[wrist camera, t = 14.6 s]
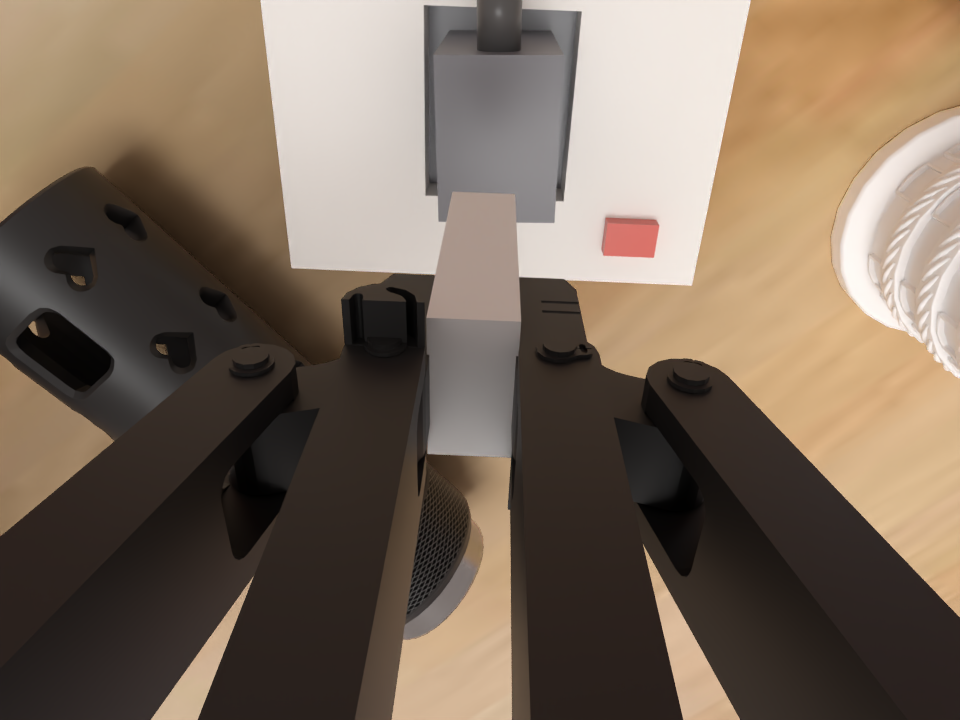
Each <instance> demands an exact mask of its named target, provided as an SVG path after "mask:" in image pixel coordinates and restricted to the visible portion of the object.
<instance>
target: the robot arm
mask: <svg viewBox="0 0 960 720" xmlns="http://www.w3.org/2000/svg"><path fill="white" fill-rule="evenodd" d="M341 303H342V316H343V328H344V341H345V345H344V348H343V350H342V353H341V355H340V358H339V359H336V360H334V361H331V362H327V363H322V364H317V365H310V366H303V367H296V364H295V358H294V355H293V354H292V353H291V352H290V351H288V350H287V349H286V348H282V347H279V346H276V345H270V344H261V343H254V344H252V345H250V344H246V345H241V346H239V347H237V348H233V349H230V350H227V351H225V352H223V353H222V354H220V355H218V356H217V357H215V358H214V359H213V360H211V361H210V362H209V363H208V364H207V365H205V366H204V367H203V368H202V369H201V370H199V371H198V372H197V373H196V374H195V375H193V376H192V377H191V378H190V379H189V380H187V381H186V382H185V383H184V384H183V385H181V386H180V387H179V388H178V389H177V390H175V391H174V392H173V393H172V394H171V395H169V396H168V397H167V398H166V399H165V400H163V401H162V402H161V403H160V404H159V405H157V406H156V407H155V408H154V409H153V410H151V411H150V412H149V413H148V414H147V415H145V416H144V417H143V418H142V419H141V420H139V421H138V422H137V423H136V424H135V425H134V426H132V427H131V428H130V429H129V430H128V431H126V432H125V433H124V434H123V435H122V436H120V437H119V438H118V439H117V440H116V441H114V442H113V443H112V444H111V445H110V446H108V447H107V448H106V449H105V450H104V451H102V452H101V453H100V454H99V455H98V456H96V457H95V458H94V459H93V460H92V461H90V462H89V463H88V464H87V465H86V466H84V467H83V468H82V469H81V470H80V471H78V472H77V473H76V474H75V475H74V476H72V477H71V478H70V479H69V480H68V481H66V482H65V483H64V484H63V485H62V486H60V487H59V488H58V489H57V490H56V491H54V492H53V493H52V494H51V495H50V496H48V497H47V498H46V499H45V500H44V501H42V502H41V503H40V504H39V505H38V506H36V507H35V508H34V509H33V510H32V511H31V512H29V513H28V514H27V515H26V516H25V517H23V518H22V519H21V520H20V521H19V522H17V523H16V524H15V525H14V526H13V527H11V528H10V529H9V530H8V531H7V532H5V533H4V534H3V535H2V536H1V537H0V720H151V718H152V717H153V716H154V714H155V713H156V711H157V710H158V709H159V707H160V706H161V704H162V703H163V702H164V700H165V699H166V697H167V696H168V695H169V693H170V692H171V690H172V689H173V688H174V686H175V685H176V683H177V682H178V681H179V679H180V678H181V676H182V675H183V674H184V672H185V671H186V669H187V668H188V667H189V665H190V664H191V662H192V661H193V660H194V658H195V657H196V656H197V654H198V653H199V651H200V650H201V649H202V647H203V646H204V644H205V643H206V642H207V640H208V639H209V637H210V636H211V635H212V633H213V632H214V630H215V629H216V628H217V626H218V625H219V623H220V622H221V621H222V619H223V618H224V616H225V615H226V614H227V612H228V611H229V609H230V608H231V607H232V605H233V604H234V602H235V601H236V600H237V598H238V597H239V595H240V594H241V593H242V591H243V590H244V588H245V587H246V586H247V584H248V583H249V581H250V580H251V579H252V577H253V576H254V578H253V580H252V583H251V585H250V588H249V590H248V593H247V595H246V598H245V601H244V603H243V606H242V608H241V611H240V613H239V616H238V618H237V621H236V624H235V626H234V629H233V631H232V634H231V636H230V639H229V641H228V644H227V647H226V649H225V652H224V654H223V657H222V659H221V662H220V664H219V667H218V670H217V672H216V675H215V677H214V680H213V682H212V685H211V687H210V690H209V692H208V695H207V698H206V700H205V703H204V705H203V708H202V710H201V713H200V715H199V718H198V720H391V719H392V712H393V705H394V698H395V691H396V684H397V677H398V670H399V662H400V655H401V648H402V641H403V634H404V627H405V620H406V613H407V606H408V599H409V592H410V585H411V578H412V571H413V564H414V557H415V550H416V542H417V535H418V528H419V521H420V514H421V507H422V500H423V493H424V486H425V479H426V447H427V441H428V454H438V455H461V456H485V457H508V458H511V470H510V484H509V499H508V509H509V510H510V524H511V641H512V720H683V717H682V713H681V709H680V704H679V700H678V695H677V691H676V687H675V682H674V678H673V674H672V669H671V665H670V661H669V656H668V652H667V647H666V643H665V639H664V634H663V630H662V626H661V621H660V617H659V613H658V608H657V604H656V600H655V595H654V591H653V586H652V582H651V578H650V573H649V569H648V565H647V560H646V556H645V552H644V547H643V545H644V546H645V548H646V550H647V552H648V554H649V556H650V557H651V559H652V561H653V563H654V565H655V566H656V568H657V570H658V572H659V574H660V575H661V577H662V579H663V581H664V583H665V584H666V586H667V588H668V590H669V592H670V593H671V595H672V597H673V599H674V601H675V602H676V604H677V606H678V608H679V610H680V612H681V613H682V615H683V617H684V619H685V621H686V622H687V624H688V626H689V628H690V630H691V631H692V633H693V635H694V637H695V639H696V640H697V642H698V644H699V646H700V648H701V649H702V651H703V653H704V655H705V657H706V658H707V660H708V662H709V664H710V666H711V668H712V669H713V671H714V673H715V675H716V677H717V678H718V680H719V682H720V684H721V686H722V687H723V689H724V691H725V693H726V695H727V696H728V698H729V700H730V702H731V704H732V705H733V707H734V709H735V711H736V713H737V714H738V716H739V718H740V720H960V617H959V616H958V615H957V614H956V613H955V612H954V611H953V610H952V609H951V608H950V607H949V606H948V605H947V604H946V603H945V602H944V601H943V600H942V599H941V598H940V597H939V596H938V595H937V593H936V592H935V591H934V590H933V589H932V588H931V587H930V586H929V585H928V584H927V583H926V582H925V581H924V580H923V579H922V578H921V577H920V576H919V575H918V574H917V573H916V572H915V571H914V570H913V568H912V567H911V566H910V565H909V564H908V563H907V562H906V561H905V560H904V559H903V558H902V557H901V556H900V555H899V554H898V553H897V552H896V551H895V550H894V549H893V548H892V547H891V546H890V544H889V543H888V542H887V541H886V540H885V539H884V538H883V537H882V536H881V535H880V534H879V533H878V532H877V531H876V530H875V529H874V528H873V527H872V526H871V525H870V524H869V523H868V522H867V521H866V519H865V518H864V517H863V516H862V515H861V514H860V513H859V512H858V511H857V510H856V509H855V508H854V507H853V506H852V505H851V504H850V503H849V502H848V501H847V500H846V499H845V498H844V497H843V496H842V494H841V493H840V492H839V491H838V490H837V489H836V488H835V487H834V486H833V485H832V484H831V483H830V482H829V481H828V480H827V479H826V478H825V477H824V476H823V475H822V474H821V473H820V472H819V471H818V469H817V468H816V467H815V466H814V465H813V464H812V463H811V462H810V461H809V460H808V459H807V458H806V457H805V456H804V455H803V454H802V453H801V452H800V451H799V450H798V449H797V448H796V447H795V446H794V444H793V443H792V442H791V441H790V440H789V439H788V438H787V437H786V436H785V435H784V434H783V433H782V432H781V431H780V430H779V429H778V428H777V427H776V426H775V425H774V424H773V423H772V422H771V421H770V419H769V418H768V417H767V416H766V415H765V414H764V413H763V412H762V411H761V410H760V409H759V408H758V407H757V406H756V405H755V404H754V403H753V402H752V401H751V400H750V399H749V398H748V397H747V396H746V394H745V393H744V392H743V391H742V390H741V389H740V388H739V387H738V386H737V385H736V384H735V383H734V382H733V381H732V380H731V379H730V378H729V377H728V376H727V375H725V374H724V373H723V372H721V371H720V370H719V369H717V368H715V367H712V366H710V365H708V364H705V363H704V362H701V361H697V360H695V361H693V359H668V360H663V361H659V362H657V363H655V364H654V365H652V366H650V367H649V369H648V372H647V375H646V379H642V378H637V377H633V376H628V375H625V374H621V373H618V372H615V371H613V370H610V369H608V368H606V367H604V366H603V365H602V364H601V360H600V355H599V353H598V352H597V350H596V348H595V347H594V346H593V345H591V344H590V343H588V342H587V339H586V335H585V330H584V325H583V320H582V316H581V311H580V306H579V301H578V297H577V292H576V289H574V288H573V287H572V286H571V285H570V284H569V283H568V282H567V281H566V280H564V279H555V278H530V277H519V266H518V245H517V224H516V203H515V194H500V193H474V192H452V196H451V201H450V206H449V211H448V216H447V220H446V225H445V230H444V235H443V240H442V245H441V249H440V254H439V259H438V264H437V269H436V274H435V275H410V274H393V275H391V276H390V277H389V278H387V279H386V280H385V281H383V282H382V283H380V284H371V285H367V286H362V287H358V288H356V289H354V290H352V291H350V292H347V293H346V295H345V296H344V297H343V298H342V299H341Z"/></svg>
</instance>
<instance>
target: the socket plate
mask: <svg viewBox="0 0 960 720" xmlns="http://www.w3.org/2000/svg"><path fill="white" fill-rule="evenodd" d="M750 1H751V0H522V30H525V31H552V33H553V35H554V37H555V39H556V41H557V43H558V45H559V47H560V48H561V50H562V52H563V54H564V64H563V82H562V99H561V117H560V134H559V152H558V169H557V187H556V204H555V222H554V223H516V224H517V245H518V266H519V277H530V278H555V279H564V280H575V281H599V282H622V283H645V284H668V285H691V286H692V282H693V278H694V273H695V268H696V263H697V258H698V253H699V248H700V244H701V239H702V234H703V229H704V224H705V219H706V215H707V210H708V205H709V200H710V195H711V190H712V185H713V181H714V176H715V171H716V166H717V161H718V156H719V152H720V147H721V142H722V137H723V132H724V127H725V122H726V118H727V113H728V108H729V103H730V98H731V93H732V89H733V84H734V79H735V74H736V69H737V64H738V59H739V55H740V50H741V45H742V40H743V35H744V30H745V26H746V21H747V16H748V11H749V6H750ZM261 9H262V18H263V26H264V35H265V44H266V53H267V61H268V70H269V79H270V87H271V96H272V105H273V113H274V122H275V131H276V139H277V148H278V157H279V165H280V174H281V183H282V191H283V200H284V209H285V217H286V226H287V235H288V243H289V252H290V261H291V268H297V269H320V270H344V271H367V272H390V273H413V274H436V269H437V264H438V259H439V254H440V249H441V245H442V240H443V235H444V230H445V225H446V222H439V221H438V189H437V158H436V126H435V94H434V63H433V54H434V53H435V51H436V50H437V48H438V47H439V45H440V44H441V42H442V41H443V39H444V38H445V36H446V35H447V33H448V32H449V30H477V0H261Z"/></svg>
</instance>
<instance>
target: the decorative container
mask: <svg viewBox="0 0 960 720" xmlns="http://www.w3.org/2000/svg"><path fill="white" fill-rule="evenodd" d="M831 256H832V265H833V268H834V270H835V273H836V276H837V278H838V281H839V283H840V286H841V287H842V288H843V289H844V291H845V292H846V293H847V294H848V295H849V297H850V298H851V299H852V300H853V301H854V302H855V304H856V305H857V306H858V307H859V308H860V309H861V310H862V311H863V312H864V313H865V314H866V315H868V316H870V317H871V318H873V319H875V320H877V321H878V322H880V323H882V324H883V325H885V326H887V327H890V328H894V329H898V330H902V331H906V332H907V333H908V334H909V336H912V337H915V338H916V339H917V340H918V341H919V342H921V343H925V345H926V348H927V350H928V352H930V353H931V354H934V355H933V357H934V360H935V361H937V362H939V363H942V364H943V367H944V369H945V370H946V371H950V372H952V373H953V375H954V376H955V377H957V378H960V106H958V107H954V108H950V109H947V110H943V111H939V112H937V113H935V114H933V115H931V116H929V117H927V118H925V119H923V120H921V121H919V122H918V123H916V124H914V125H912V126H910V127H908V128H906V129H904V130H903V131H902V132H901V133H899V134H898V135H897V136H896V137H894V138H893V139H892V140H891V141H889V142H888V143H887V144H885V145H884V146H883V147H882V148H880V149H879V150H878V151H877V152H876V153H875V154H874V155H873V156H872V157H871V159H870V160H869V161H868V162H867V163H866V165H865V166H864V167H863V168H862V169H861V170H860V172H859V173H858V174H857V175H856V176H855V178H854V179H853V181H852V182H851V184H850V186H849V188H848V190H847V192H846V194H845V196H844V197H843V199H842V201H841V203H840V205H839V207H838V210H837V214H836V218H835V222H834V226H833V230H832V234H831Z"/></svg>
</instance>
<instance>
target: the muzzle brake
mask: <svg viewBox="0 0 960 720" xmlns="http://www.w3.org/2000/svg"><path fill="white" fill-rule="evenodd" d="M71 276H83V277H84V278H85V282H86V286H81V285H78V284H76V283H75V282H74V281H73V280H72V279H71ZM32 321H35V323H36V329H37V332H38V336H39V337H38V336H36V335H35V334H34V333H32V331H31V330H30V328H29V327H28V325H29V324H30V323H31V322H32ZM254 343H261V344H270V345H276V346H279V347H282V348H286V349H287V350H288V351H290V352H291V353H292V354H293V355H294V358H295V364H296V367H303V366H310V365H312V364H311V363H310V362H309V361H307V360H306V359H305V358H304V357H303V356H302V355H301V354H300V353H299V352H297V351H296V350H295V349H294V348H293V347H292V346H291V345H290V344H289V343H287V342H286V341H285V340H284V339H283V338H282V337H281V336H280V335H279V334H278V333H276V332H275V331H274V330H273V329H272V328H271V327H270V326H269V325H268V324H266V323H265V322H264V321H263V320H262V319H261V318H260V317H259V316H258V315H257V314H255V313H254V312H253V311H252V310H251V309H250V308H249V307H248V306H247V305H245V304H244V303H243V302H242V301H241V300H240V299H239V298H238V297H237V296H235V295H234V294H233V293H232V292H231V291H230V290H229V289H228V288H227V287H226V286H224V285H223V284H222V283H221V282H220V281H219V280H218V279H217V278H216V277H214V276H213V275H212V274H211V273H210V272H209V271H208V270H207V269H206V268H204V267H203V266H202V265H201V264H200V263H199V262H198V261H197V260H196V259H195V258H193V257H192V256H191V255H190V254H189V253H188V252H187V251H186V250H185V249H183V248H182V247H181V246H180V245H179V244H178V243H177V242H176V241H175V240H174V239H172V238H171V237H170V236H169V235H168V234H167V233H166V232H165V231H164V230H162V229H161V228H160V227H159V226H158V225H157V224H156V223H155V222H154V221H152V220H151V219H150V218H149V217H148V216H147V215H146V214H145V213H144V212H143V211H141V210H140V209H139V208H138V207H137V206H136V205H135V204H134V203H133V202H131V201H130V200H129V199H128V198H127V197H126V196H125V195H124V194H123V193H121V192H120V191H119V190H118V189H117V188H116V187H115V186H114V185H113V184H112V183H110V182H109V181H108V180H107V179H106V178H105V177H104V176H103V175H102V174H100V173H99V172H98V171H97V170H96V169H95V168H93V167H83V168H79V169H76V170H74V171H72V172H70V173H68V174H66V175H65V176H63V177H61V178H59V179H58V180H56V181H55V182H53V183H52V184H50V185H49V186H47V187H46V188H44V189H43V190H41V191H40V192H39V193H37V194H36V195H35V196H33V197H32V198H30V199H29V200H28V201H26V202H25V203H24V204H23V205H21V206H20V207H19V208H18V209H16V210H15V211H14V212H13V213H11V214H10V215H9V216H8V217H7V218H6V219H4V220H3V221H2V222H1V223H0V354H1V355H2V356H4V357H5V358H6V359H8V360H9V361H10V362H11V363H12V364H13V365H14V366H15V367H16V368H17V369H18V370H20V371H21V372H23V373H24V374H25V375H27V376H28V377H29V378H31V379H32V380H33V381H35V382H36V383H37V384H39V385H40V386H41V387H43V388H44V389H45V390H47V391H48V392H49V393H51V394H52V395H54V396H55V397H56V398H58V399H59V400H60V401H62V402H63V403H64V404H66V405H67V406H68V407H70V408H71V409H72V410H74V411H76V412H78V413H80V414H81V415H83V416H84V417H86V418H87V419H88V420H90V421H91V422H92V423H93V424H94V425H96V426H97V427H99V428H100V429H102V430H103V431H105V432H106V433H107V434H108V435H109V436H110V437H111V438H112V439H113V440H114V441H116V440H117V439H118V438H119V437H120V436H122V435H123V434H124V433H125V432H126V431H128V430H129V429H130V428H131V427H132V426H134V425H135V424H136V423H137V422H138V421H139V420H141V419H142V418H143V417H144V416H145V415H147V414H148V413H149V412H150V411H151V410H153V409H154V408H155V407H156V406H157V405H159V404H160V403H161V402H162V401H163V400H165V399H166V398H167V397H168V396H169V395H171V394H172V393H173V392H174V391H175V390H177V389H178V388H179V387H180V386H181V385H183V384H184V383H185V382H186V381H187V380H189V379H190V378H191V377H192V376H193V375H195V374H196V373H197V372H198V371H199V370H201V369H202V368H203V367H204V366H205V365H207V364H208V363H209V362H210V361H211V360H213V359H214V358H215V357H217V356H218V355H220V354H222V353H223V352H225V351H227V350H230V349H233V348H237V347H239V346H241V345H246V344H250V345H252V344H254ZM156 344H166V350H167V355H164V354H161V353H160V352H159V351H158V350H157V348H156ZM483 547H484V546H483V536H482V533H481V531H480V528H479V527H478V525H477V524H476V523H475V522H474V521H473V520H472V519H471V515H470V510H469V506H468V503H467V501H466V499H465V497H464V496H463V495H462V494H461V493H460V492H459V491H458V490H457V489H456V488H455V487H454V486H453V485H452V484H451V483H450V482H448V481H447V480H446V479H445V478H444V477H443V476H442V475H441V474H440V473H439V472H437V471H436V470H435V469H434V468H433V467H432V466H431V465H430V464H429V463H427V462H426V479H425V486H424V493H423V500H422V507H421V514H420V521H419V528H418V535H417V542H416V550H415V557H414V564H413V571H412V578H411V585H410V592H409V599H408V606H407V613H406V620H405V627H404V634H403V639H405V640H410V639H415V638H418V637H421V636H423V635H425V634H427V633H429V632H430V631H432V630H433V629H435V628H436V627H437V626H439V625H440V624H441V623H442V622H443V621H444V620H445V619H447V618H448V616H449V615H450V614H451V613H452V612H453V611H454V610H455V609H456V608H457V606H458V605H459V604H460V602H461V601H462V600H463V598H464V597H465V595H466V594H467V592H468V590H469V589H470V587H471V585H472V583H473V581H474V579H475V577H476V575H477V572H478V570H479V567H480V563H481V560H482V555H483Z"/></svg>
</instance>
